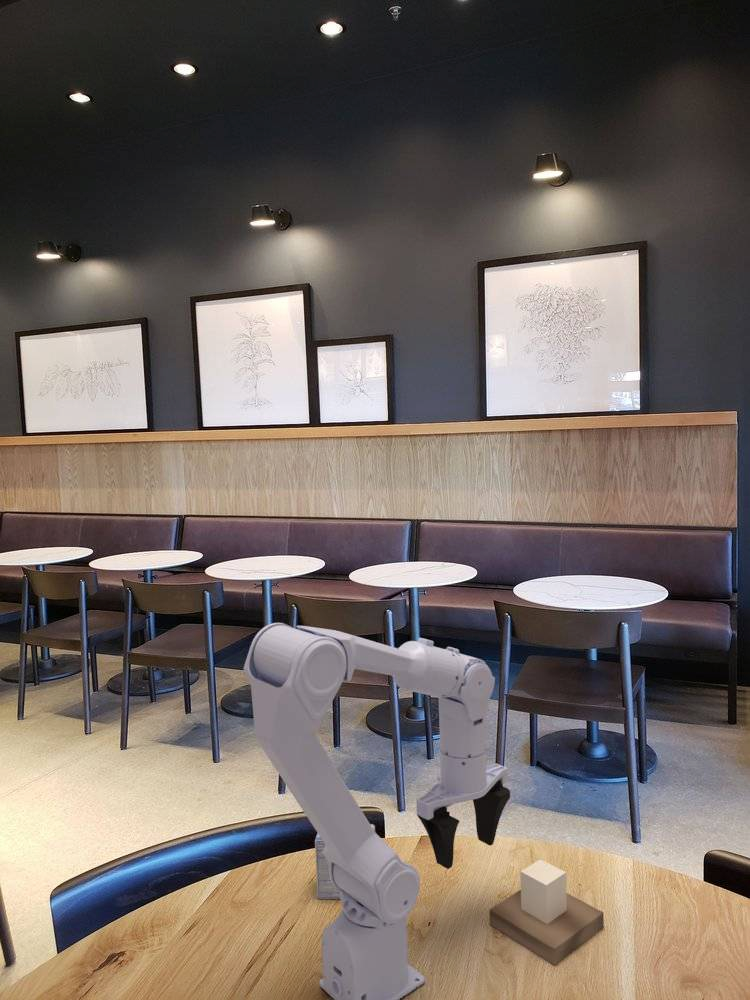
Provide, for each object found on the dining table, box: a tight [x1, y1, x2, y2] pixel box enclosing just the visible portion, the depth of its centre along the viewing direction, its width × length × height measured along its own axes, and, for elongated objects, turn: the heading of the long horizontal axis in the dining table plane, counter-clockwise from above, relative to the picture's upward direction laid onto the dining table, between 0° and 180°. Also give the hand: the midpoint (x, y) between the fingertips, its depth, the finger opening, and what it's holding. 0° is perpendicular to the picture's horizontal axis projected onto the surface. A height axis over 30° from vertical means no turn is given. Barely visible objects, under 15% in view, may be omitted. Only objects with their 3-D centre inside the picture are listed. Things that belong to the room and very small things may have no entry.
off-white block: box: [520, 859, 567, 924], centre depth 93 cm, size 4×4×5 cm
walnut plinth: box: [489, 889, 605, 966], centre depth 93 cm, size 10×10×2 cm
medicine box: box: [314, 823, 376, 900], centre depth 101 cm, size 8×4×9 cm, turn 84°
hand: (465, 853), depth 93 cm, fingers open, 7 cm apart
